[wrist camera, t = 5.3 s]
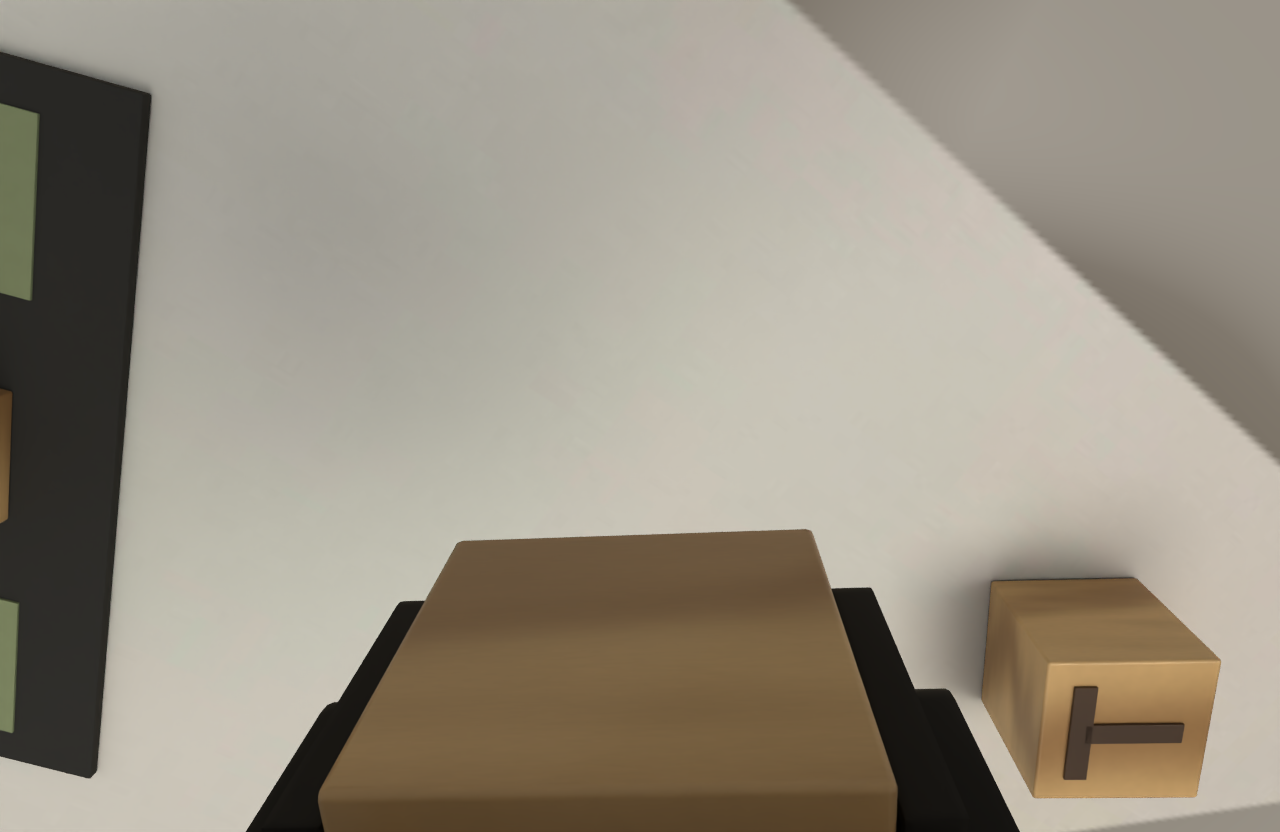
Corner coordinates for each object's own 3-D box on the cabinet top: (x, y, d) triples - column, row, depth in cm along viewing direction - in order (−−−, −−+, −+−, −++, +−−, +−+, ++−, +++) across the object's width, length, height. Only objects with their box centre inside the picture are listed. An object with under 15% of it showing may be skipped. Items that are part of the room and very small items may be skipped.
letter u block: (455, 538, 11) (304, 805, 7) (812, 526, 11) (904, 795, 6) (495, 822, 12) (391, 1201, 8) (811, 817, 12) (887, 1206, 8)
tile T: (990, 580, 27) (1049, 664, 23) (1136, 576, 27) (1225, 662, 22) (980, 700, 28) (1034, 801, 24) (1119, 698, 28) (1199, 801, 24)
